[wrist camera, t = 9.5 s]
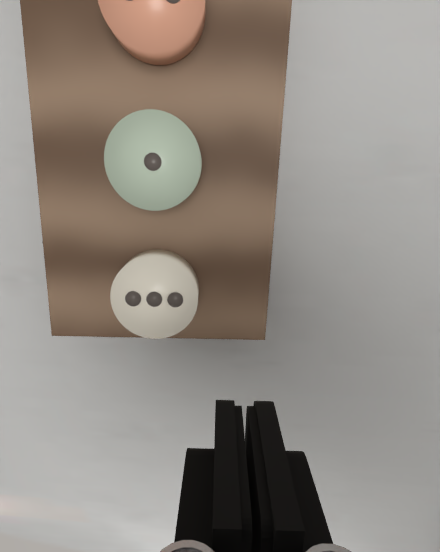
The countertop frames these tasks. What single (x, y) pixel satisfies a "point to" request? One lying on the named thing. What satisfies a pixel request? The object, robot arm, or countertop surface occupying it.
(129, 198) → the sage button
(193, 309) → the cream button
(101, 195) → the button board
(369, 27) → the countertop surface
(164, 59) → the terracotta button
